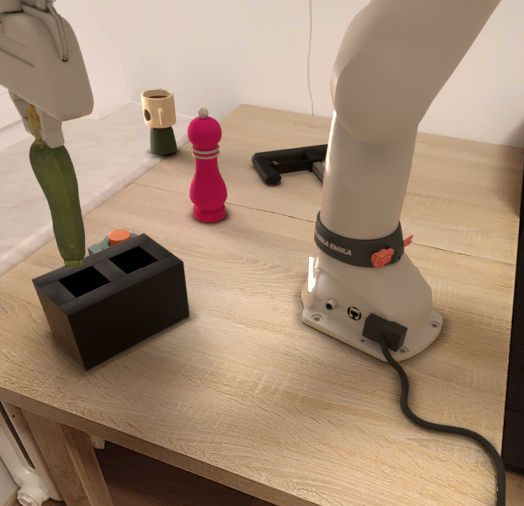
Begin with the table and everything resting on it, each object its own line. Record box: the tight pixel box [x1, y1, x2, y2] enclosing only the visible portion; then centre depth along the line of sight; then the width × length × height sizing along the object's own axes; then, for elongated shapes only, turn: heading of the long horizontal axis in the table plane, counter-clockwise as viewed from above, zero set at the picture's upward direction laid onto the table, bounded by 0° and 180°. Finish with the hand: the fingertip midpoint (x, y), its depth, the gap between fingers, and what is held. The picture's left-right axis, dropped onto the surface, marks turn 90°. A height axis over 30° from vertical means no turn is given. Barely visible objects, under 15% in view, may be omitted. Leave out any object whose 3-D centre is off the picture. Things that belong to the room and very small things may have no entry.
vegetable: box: [27, 104, 87, 269], centre depth 58 cm, size 4×4×20 cm
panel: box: [86, 231, 139, 256], centre depth 85 cm, size 10×8×4 cm
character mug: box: [140, 88, 178, 156], centre depth 114 cm, size 11×7×13 cm, turn 15°
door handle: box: [251, 143, 328, 185], centre depth 111 cm, size 3×20×16 cm
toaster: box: [31, 232, 190, 372], centre depth 71 cm, size 10×18×10 cm, turn 133°
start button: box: [107, 228, 131, 246], centre depth 83 cm, size 4×4×2 cm
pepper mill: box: [186, 107, 228, 223], centre depth 91 cm, size 7×7×20 cm
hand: (45, 139), depth 53 cm, fingers closed on vegetable, 3 cm apart
